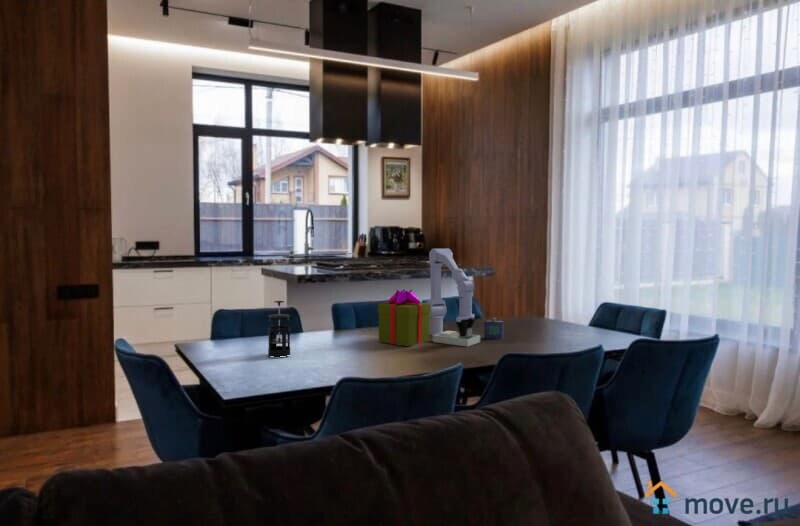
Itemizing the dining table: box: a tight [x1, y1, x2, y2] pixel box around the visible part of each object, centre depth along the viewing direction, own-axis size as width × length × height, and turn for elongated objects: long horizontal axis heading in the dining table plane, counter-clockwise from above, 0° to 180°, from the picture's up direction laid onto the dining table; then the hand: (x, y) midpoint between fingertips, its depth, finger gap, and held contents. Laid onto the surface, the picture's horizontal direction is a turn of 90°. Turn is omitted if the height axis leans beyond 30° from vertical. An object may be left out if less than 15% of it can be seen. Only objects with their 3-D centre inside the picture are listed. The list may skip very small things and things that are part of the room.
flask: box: [483, 317, 504, 340], centre depth 280 cm, size 9×3×11 cm, turn 88°
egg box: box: [439, 330, 458, 338], centre depth 272 cm, size 5×8×4 cm, turn 146°
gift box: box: [377, 288, 430, 347], centre depth 270 cm, size 21×21×25 cm
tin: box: [458, 326, 473, 339], centre depth 267 cm, size 5×5×6 cm
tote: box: [432, 332, 482, 347], centre depth 270 cm, size 18×13×4 cm
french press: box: [267, 300, 291, 357], centre depth 239 cm, size 12×9×23 cm
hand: (465, 335), depth 267 cm, fingers closed on tin, 4 cm apart
